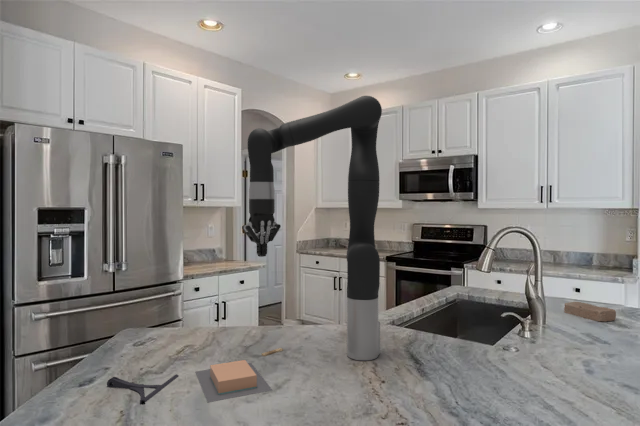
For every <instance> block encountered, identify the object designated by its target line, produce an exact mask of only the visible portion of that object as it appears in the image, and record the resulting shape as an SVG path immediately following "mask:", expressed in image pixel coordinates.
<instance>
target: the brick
mask: <svg viewBox="0 0 640 426" xmlns="http://www.w3.org/2000/svg"><path fill="white" fill-rule="evenodd" d="M563 311H564V312H563V313H566V314H569V315H572V316H576V317H579V318H583V319H585V320H586V319H587V320H590V321H594V322H613V321H616V317H617V311H616V309H612V308H609V307H605V306H604V307H603V306H597V305H594V304H590V303H585V302H580V301H570V302H564V308H563Z"/></svg>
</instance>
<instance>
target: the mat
mask: <svg viewBox="0 0 640 426" xmlns="http://www.w3.org/2000/svg"><path fill="white" fill-rule="evenodd" d="M247 363H248V362H247ZM248 364H249V366H250V367H251V368H252V370H253V371H254V372H255V374H256V375H257V388H253V389H247V390H242V391H236V392H231V393H225V394H220V395H219V394H218V392H217V390H216V388H215V386H214V384H213V382H212V380H211V378H210V368H209V369H205V370H204V369H203V370H198V371H196V370H195V375H196V377H197V380H198V383H199V385H200V387H201V390H202V392H203V394H204V398H205V399H206V402H207V403H212V402H214V403H215V402H218V401H223V400H229V399H234V398H239V397H244V396H249V395H254V394H255V395H256V394H260V393H261V394H262V393H266V392H271V391H273V389H272V388H271V386H270V385H269V384H268V382H267V381H266V379H264V377H263V376H262V375H261V373H259V371H258V369H256V367H255V365H254V364H253V363H252V362H249V363H248Z"/></svg>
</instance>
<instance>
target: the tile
mask: <svg viewBox="0 0 640 426" xmlns="http://www.w3.org/2000/svg"><path fill="white" fill-rule="evenodd" d="M209 369H210V378H211V380H212V382H213V384H214V386H215V388H216V390H217V392H218V394H219V395H220V394H225V393H231V392H236V391H242V390H247V389H253V388H257V375H256V374H255V372H254V371H253V370H252V368H251V367H250V366H249V364H248V361H246V359H243V360H235V361H229V362H223V363H216V364H211V365H209Z"/></svg>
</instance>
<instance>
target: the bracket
mask: <svg viewBox="0 0 640 426" xmlns="http://www.w3.org/2000/svg"><path fill="white" fill-rule="evenodd" d="M179 377H180V375H178V374H176V373H175V374H174V375H173V376H171V377H170V378H169V379H167V380H166V381H164V382H163V383H162V384H143V383H142V384H141V383H140V384H139V383H135V382H130V381H127V380H124V379H122V378H119V377H117V376H112V377H111V378H109V379H108V380H107V382H106V387H107V388H114V389H115V388H116V389H128V390H132V391H134V392H137V394H139V396H140V400H139V405H142V404H144V403H147V402H148V401H150V399H151V398H153V397H154V396H156V395H157V394H158V393H159V392H161V391H162V390H163V389H165V388H166V387H167V386H168V385H170V384H171V383H172V382H174V381H175V380H177V378H179ZM145 389H154V390H153V391H151V392H150V393H149V394H148V395H145Z"/></svg>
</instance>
